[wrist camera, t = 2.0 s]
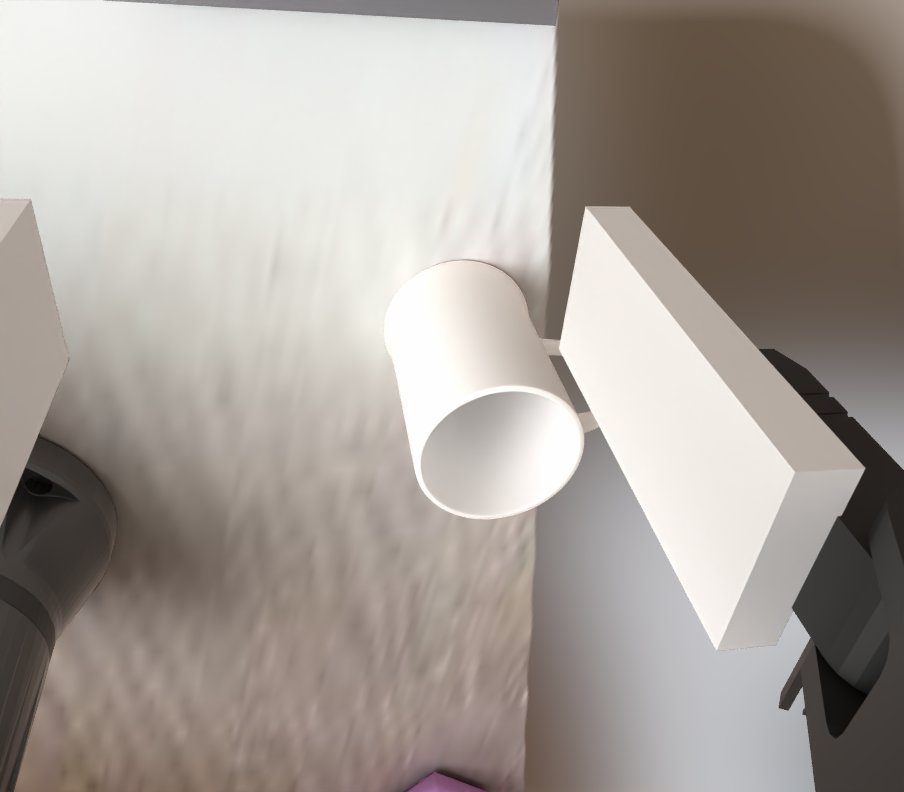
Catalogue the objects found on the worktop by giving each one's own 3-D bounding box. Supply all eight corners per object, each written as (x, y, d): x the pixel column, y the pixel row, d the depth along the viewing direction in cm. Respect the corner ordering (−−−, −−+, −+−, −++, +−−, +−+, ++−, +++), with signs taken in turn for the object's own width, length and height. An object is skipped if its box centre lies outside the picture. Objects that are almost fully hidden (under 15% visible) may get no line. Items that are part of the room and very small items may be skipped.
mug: (591, 258, 45) (674, 375, 35) (567, 381, 49) (634, 514, 40) (385, 259, 42) (413, 384, 33) (381, 388, 47) (405, 529, 38)
